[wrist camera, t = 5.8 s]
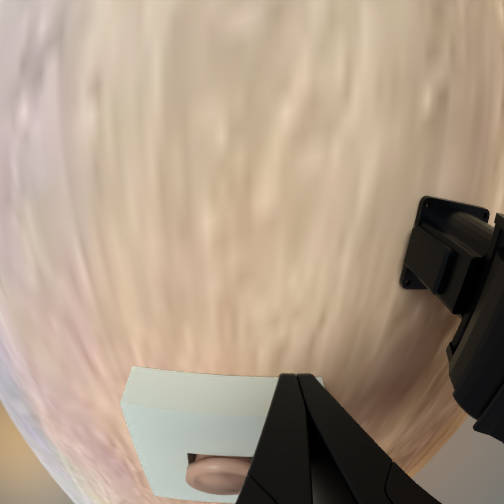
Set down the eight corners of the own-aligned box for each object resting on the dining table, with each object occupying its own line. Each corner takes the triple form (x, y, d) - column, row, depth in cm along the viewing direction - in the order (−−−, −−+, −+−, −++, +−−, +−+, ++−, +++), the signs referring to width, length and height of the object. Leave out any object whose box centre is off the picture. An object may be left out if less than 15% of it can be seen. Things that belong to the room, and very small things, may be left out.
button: (261, 431, 25) (263, 468, 21) (254, 463, 27) (255, 495, 24) (187, 427, 24) (182, 464, 21) (191, 460, 27) (187, 492, 23)
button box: (321, 377, 24) (331, 414, 20) (285, 474, 31) (288, 502, 27) (133, 365, 23) (120, 402, 19) (158, 468, 30) (154, 495, 26)
